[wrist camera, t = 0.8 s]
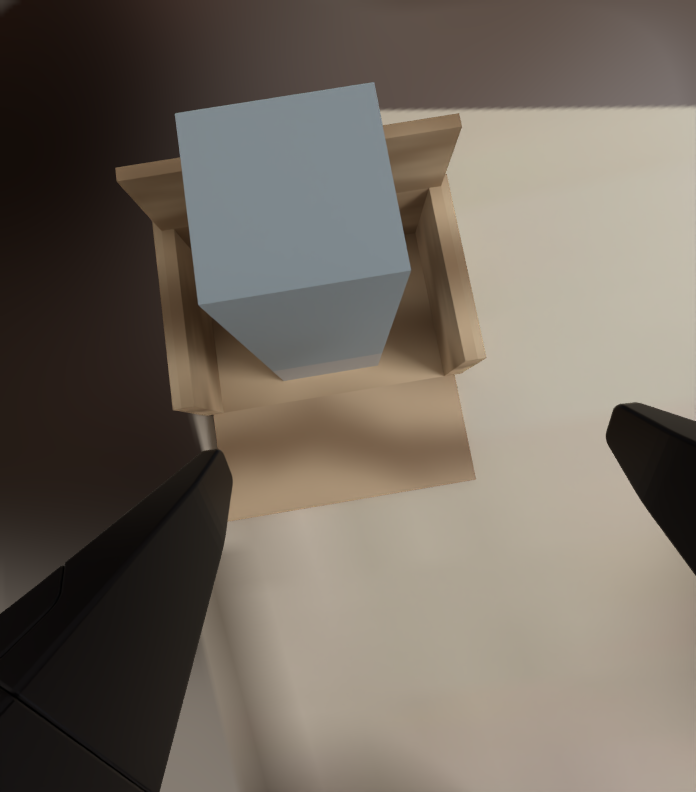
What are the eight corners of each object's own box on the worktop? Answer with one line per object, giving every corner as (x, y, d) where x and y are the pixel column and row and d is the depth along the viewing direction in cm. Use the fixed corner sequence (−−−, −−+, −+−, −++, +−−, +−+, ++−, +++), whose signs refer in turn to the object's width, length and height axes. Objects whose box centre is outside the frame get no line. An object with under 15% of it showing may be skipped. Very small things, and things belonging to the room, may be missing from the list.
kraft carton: (479, 477, 21) (557, 499, 13) (222, 521, 21) (143, 570, 13) (427, 226, 23) (468, 111, 15) (191, 264, 23) (105, 169, 15)
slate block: (377, 365, 21) (411, 270, 9) (283, 381, 21) (198, 305, 9) (361, 276, 22) (373, 82, 10) (270, 290, 22) (175, 113, 10)
